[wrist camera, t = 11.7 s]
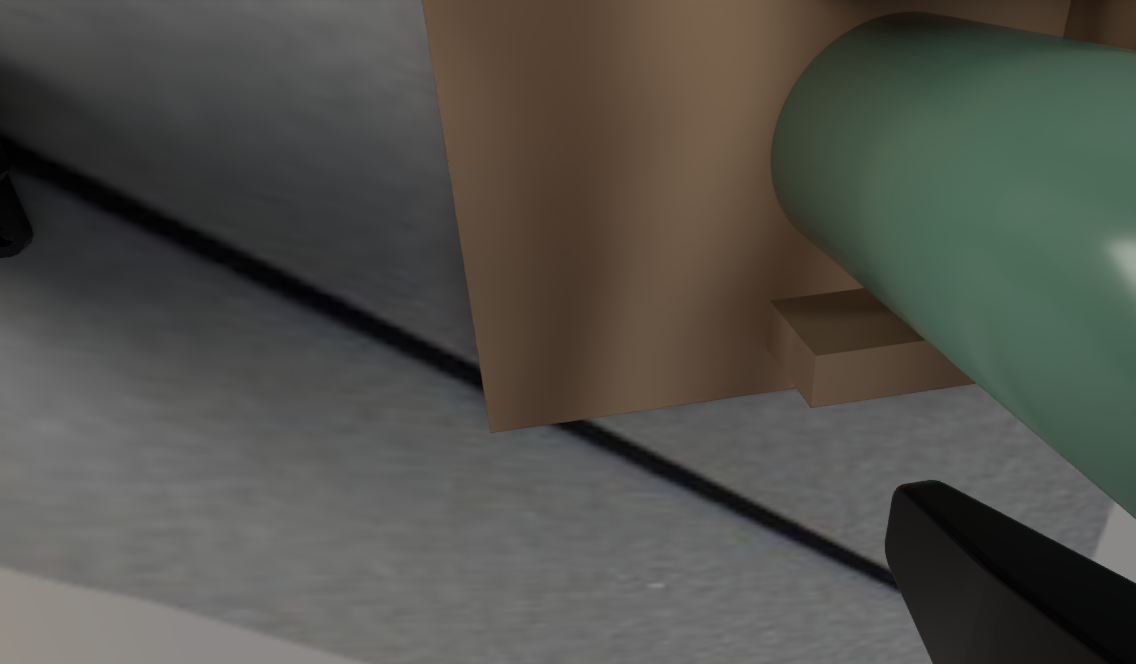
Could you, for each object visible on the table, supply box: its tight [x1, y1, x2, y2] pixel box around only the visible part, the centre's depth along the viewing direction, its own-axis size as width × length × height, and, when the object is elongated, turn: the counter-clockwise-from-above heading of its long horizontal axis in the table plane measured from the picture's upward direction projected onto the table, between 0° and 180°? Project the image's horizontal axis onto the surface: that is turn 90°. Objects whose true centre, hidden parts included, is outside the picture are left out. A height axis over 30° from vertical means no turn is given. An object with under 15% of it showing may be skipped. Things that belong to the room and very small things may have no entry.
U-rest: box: [422, 0, 1136, 433], centre depth 18 cm, size 18×14×4 cm
